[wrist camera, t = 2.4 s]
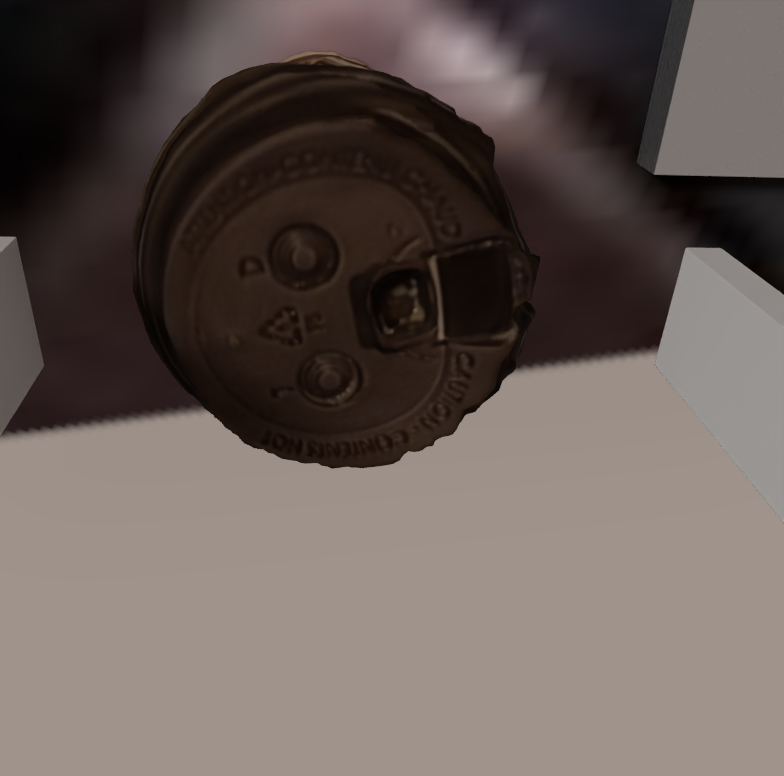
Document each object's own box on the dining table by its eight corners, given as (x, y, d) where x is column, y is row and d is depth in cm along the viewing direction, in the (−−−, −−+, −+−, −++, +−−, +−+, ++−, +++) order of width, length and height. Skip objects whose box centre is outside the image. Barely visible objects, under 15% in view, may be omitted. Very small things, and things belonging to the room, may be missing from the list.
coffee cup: (499, 110, 25) (662, 247, 14) (375, 309, 28) (427, 548, 17) (262, -44, 22) (227, -26, 11) (154, 199, 25) (43, 405, 14)
